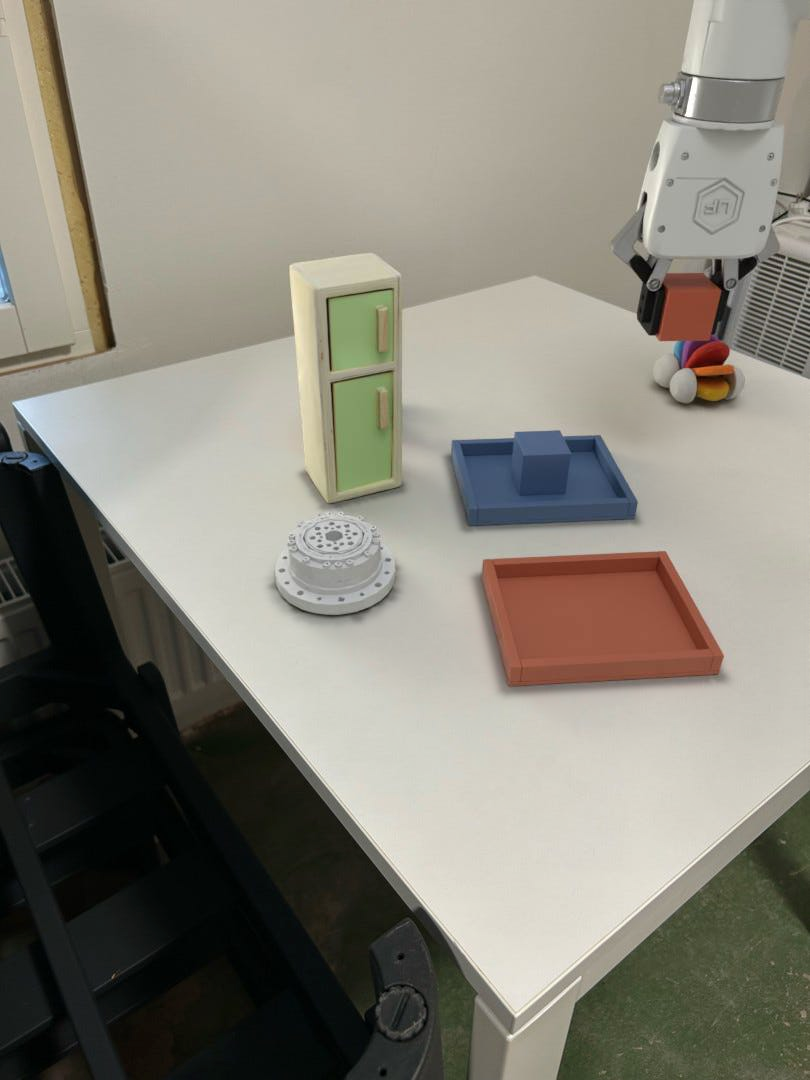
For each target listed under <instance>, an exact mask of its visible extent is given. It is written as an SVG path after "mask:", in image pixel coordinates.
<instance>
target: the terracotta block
mask: <svg viewBox="0 0 810 1080" xmlns="http://www.w3.org/2000/svg"><path fill="white" fill-rule="evenodd" d="M710 279H711V278H709V277H708V276H707V275H706V274H705V273H704V272H667V274H666V276H665V278H664V281H663V285H662V289H663V290H664V292H665V300H664V305H663V310H662V315H661V320H660V325H659V330H658V333H657V334H656V335H655V337H656V339H657V340H658V341H659V342H677V341H709V340H710V336H711V332H712V328H713V324H714V320H715V316H716V311H717V307H718V303H719V299H720V295H721V290H720V289H719V288H718V287H717V286H716V285H715V284H714V283H713V282H712V281H711V280H710Z"/></svg>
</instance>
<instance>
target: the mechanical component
mask: <svg viewBox="0 0 810 1080" xmlns="http://www.w3.org/2000/svg"><path fill="white" fill-rule="evenodd" d="M364 518H365V517H363V516H362V515H358V516H354V515H346V514H345V513H344V512H343V511H338V512H337V513H336V514H334V512H332V511H327V512H326V513H325V515H323V514H322V513H317V514H315V517H312V518H310V519H308V520H306V521H304V520H303V521H301V520H300V521H298V522H297V526H296V527H295V528H294V529H293V531H291V532H290V533H289V534H288V539H287V546H286V547H285V548H284V549H283V550H282V552H281V553H280V554H279V555H278V557H277V559H276V562H275V565H274V566H275V567H274V569H275V571H274V576H275V583H276V588H277V589H278V591H279V593H280V595H281V596H282V598H283V599H285V600H286V601H287V602H288V603H289V604H291V605H292V606H294V607H297V608H299V609H300V610H302V611H305V612H308V613H312V614H318V615H326V616H327V615H328V616H329V615H331V616H340V615H346V614H352V613H358V612H360V611H362V610H365V609H367V608H371V607H372V606H374V605H376V604H377V603H379V602H381V601H382V600H383V599H384V598H385V597H386V596H387V595H388V594H389V593H390V592H391V590H392V589H393V586H394V583H395V580H396V575H397V574H396V573H397V572H396V570H397V569H396V559H395V557H394V555H393V553H392V551H391V549H390V548H389V547H388V546H386V544H384V543H383V542H382V541H381V533H380V532H379V531H378V529H377V528H378V527H377V526H376V525H374V524H371V523H370V522H368V521H366V520H365V519H364Z"/></svg>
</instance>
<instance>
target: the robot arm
mask: <svg viewBox="0 0 810 1080" xmlns="http://www.w3.org/2000/svg"><path fill="white" fill-rule="evenodd" d="M803 20H807V21H810V0H693V4H692V9H691V15H690V20H689V25H688V29H687V30H688V31H687V36H686V41H685V46H684V50H683V51H684V52H683V56H682V62H681V67H680V70H681V71H680V72H677V74H676V77H675V81H672V82H670V83H662V84H661V85H660V87H659V89H658V96H657V99H658V101H657V102H658V103H659V104H660V105H661V104H663V105H665V104H666V105H668V106H669V107H670V110H671V111H673V112H672V116H666V117H664V119H663V121H662V124H661V126H660V128H659V131H658V133H657V137H656V139H655V142H654V145H653V149H652V151H651V153H650V157H649V161H648V163H647V166H646V171H645V174H644V178H643V182H642V186H641V190H640V193H639V198H638V203H637V206H636V207H637V208H636V212H635V213H634V214H633V215H632V216H631V218H630V219H629V220H628V221H627V222H626V223H625V225H623V227H622V228H621V229H620V230H619V232H618V233H617V234H616V235H615V236H614V237H613V239H612V240H611V241H610V242H609V246H608V247H609V249H610V250H611V252H612V253H613V254H614V255H615V256H616V257H617V258H618V259H620V260H621V261H622V262H624V264H626V265H627V266H628V267H629V268H631V270H632V271H633V272H634V273H635V275H637V277H638V278H639V279H640V281H641V282H642V284H641V289H640V294H639V300H638V305H637V310H636V319H637V322H638V323H639V324H640V326H641V327H642V328H643V330H644V332H645V333H646V334H647V335H648V336H650V337H652V336H653V337H654V336H655V335H656V334H657V333H658V330H659V325H660V320H661V315H662V310H663V305H664V300H665V292H664V290H663V289H662V285H663V281H664V278H665V276H666V274H667V273H669V270H670V267H671V265H672V262H673V260H712V261H711V262H712V267H711V268H712V275H711V276H710V278H709V279H710V280H711V281H712V282H713V283H714V284H715V285H716V286H717V287H718V288H719V289H720V290H721V295H720V299H719V303H718V307H717V311H716V316H715V320H714V324H713V328H712V332H711V335H716V333H717V329H718V326H719V325H718V324H719V323H721V322H722V321H723V319H724V315H725V312H726V308H727V304H728V299H729V295H730V291H733V290H735V289H736V288H737V287H738V285H739V282H740V280H742V279H743V278H744V277H746V276H747V275H748V274H749V273H750V272H752V271H753V270H754V269H755V268H756V267H757V265H759V264H761V263H763V262H764V261H767V260H768V259H769V258H771V257H773V256H774V255H776V254H777V253H778V252H779V251H780V249H781V244H780V242H779V239H778V237H777V234H776V232H775V230H774V227H773V226H772V222H773V218H774V214H775V207H776V203H777V198H778V191H779V185H780V179H781V172H782V164H783V163H782V162H783V155H784V139H785V124H784V123H782V122H778V121H775V119H776V115H777V111H778V108H779V103H780V100H781V96H782V92H783V88H784V85H785V84H784V83H785V80H786V76H787V71H788V68H789V63H790V60H791V55H792V52H793V49H794V44H795V40H796V36H797V32H798V28H799V25H800V22H801V21H803ZM637 241H638V242H639V243H641V244H643V245H642V246H643V248H645V250H646V251H647V253H646V254H645V257H643V256H642V255H641V254H640V252H638V251H637V250H636V249H635V247H634V246H635V243H637ZM655 337H656V336H655Z"/></svg>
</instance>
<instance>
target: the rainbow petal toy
mask: <svg viewBox="0 0 810 1080" xmlns="http://www.w3.org/2000/svg"><path fill="white" fill-rule="evenodd" d="M672 351H673V353H666V354H663V355H662V356H660V357H659V358H658V359H657V360H656V361H655V364H654V365H653V369H652V371H653V372H652V373H653V378H654V380H655V382H656V383H657V384H658V385H659V386H660V387H661V388H662V387H663V388H665V389H669V392H670V394H671V396H672V398H673V399H674V400H675V401H677V402H679V403H681V404H690V403H692V402H693V401H694V400H695V398H696V397H698V398H699V399H702V400H706V401H712V402H715V401H716V402H717V401H720V400H723V399H724V400H729V401H730V400H732V399H735V398H736V397H738V396H739V395H740V394H741V393H742V391H743V390H744V388H745V385H746V379H745V375H744V372H743V371H742V369H741V368H739V367H738V366H736V365H734V364H729V363H728V364H726V363H725V362H726V361H727V360H728V358H729V356H730V354H731V350H730V347H729V345H728V344H727V343H725V342H723V341H720V340H719V338H718V336H717V335H716V334H715V335H711V336H710V340H709V341H675V344H674V346H673V350H672Z"/></svg>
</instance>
